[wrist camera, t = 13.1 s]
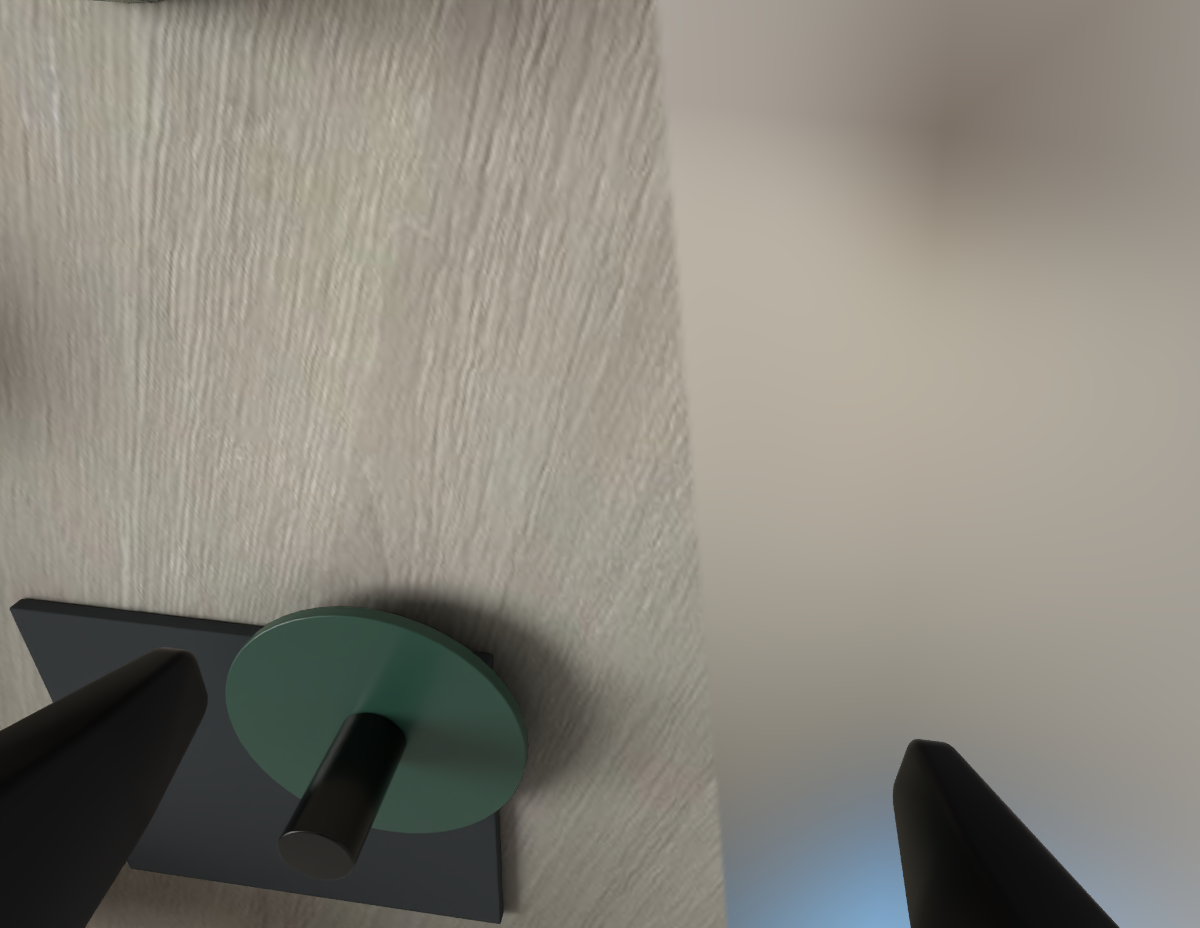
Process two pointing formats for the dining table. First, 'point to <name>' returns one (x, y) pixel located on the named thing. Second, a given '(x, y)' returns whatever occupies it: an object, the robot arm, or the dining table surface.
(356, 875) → the mat
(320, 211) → the dining table surface
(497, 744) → the tin lid
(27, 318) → the dining table surface
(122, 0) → the tin
